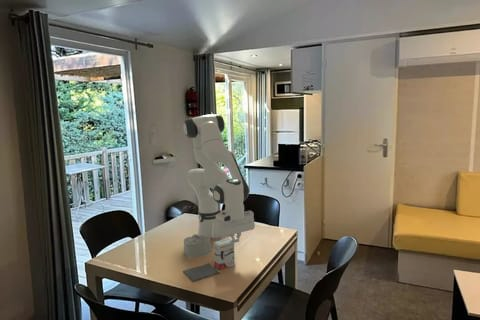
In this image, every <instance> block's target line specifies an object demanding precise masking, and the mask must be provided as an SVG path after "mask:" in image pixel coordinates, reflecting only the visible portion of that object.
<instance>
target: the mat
mask: <svg viewBox="0 0 480 320" xmlns="http://www.w3.org/2000/svg"><path fill="white" fill-rule="evenodd" d="M182 272H183V274H185V275H186V276H187V277H188V278H189V279H190V280H191V281H192V282H196V281H200V280H203V279H207V278H210V277H213V276H215V275H219V274H221V272H220V270H219V269H218V268H216V267H215V266H213V265H212V264H210V263H205V264H201V265H197V266H195V267H191V268H188V269H183V270H182Z"/></svg>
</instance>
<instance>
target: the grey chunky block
mask: <svg viewBox="0 0 480 320" xmlns="http://www.w3.org/2000/svg"><path fill="white" fill-rule="evenodd" d="M183 246H184V247H183V248H184V255H185V256H186V258H188V259H193V258H201V257H205V256H207V255H209V254H210V253H211V252H212V251H211V238H209V237H206V236H204V235H200V236H198V235H197V233H196V234H193V235H191V236H188V237H186V238H184V240H183Z"/></svg>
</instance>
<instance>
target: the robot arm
mask: <svg viewBox="0 0 480 320" xmlns="http://www.w3.org/2000/svg"><path fill="white" fill-rule="evenodd" d="M182 127H183V133H184V134H185V136H186V137H187V138H191V139H192V147H193V153H194V154H193V155H194V156H193V157H194V160H195V162H196V163H198V164H199V165H200V166H201V167H202V168H192V169H190V170H189V171H188V172H187V175H186V182H187V184H188V185H189V186H190V187H191V188H192V189H193V190H194V192H195V195H196V197H197V201H198V213H197V216H198V217H197V218H198V229H197V233H196V234H197V235H198V236H200V235H204V236H206V237H209V238H210V239H213V240H215V239H221V238H225V237H228V236H229V237H230V239H231V240H232V241H234V244H236V243H239V242H240V238H241V236H242V233H244V232H248V231H253V230H254V229H255V228H256V227H255V225H256V223H255V218H254V216H255V215H254V214H255V213H254V212H253V210H246V211H245V205H244V202H245V201H246V200H247V199H248V197H249V195H250V187H249V185H248V183H247V181H246V180H245V178H244V175H243V173H242V171H241V169H240V166H239V163H238V161H237V159H236V157H235V155H234V153H233V152H232V151H231V150H229V149H228V148H227V146H226V144H225V142H224V138H223V136H222V132H224V130H225V127H226V126H225V119H224V118H223V116H222V115H221V114H218V113H217V114H215V113H214V114H205V115H204V114H203V115H200V116H195V117H189V118H187V119H185V120H184V122H183V126H182ZM218 163H220V164H222V165H224V166H225V167H226V168H227V169H228V172H229V175H230V176H231V178H229V176H228V174H227V171H225V170H224V169H222V168H221V166H220V165H219V164H218ZM211 189H213V190H212V191H211ZM218 204H221V205H225V207H224V209H223V210H220V209H219V206H218ZM235 235H236V237H235Z"/></svg>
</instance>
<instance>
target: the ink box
mask: <svg viewBox="0 0 480 320" xmlns="http://www.w3.org/2000/svg"><path fill="white" fill-rule="evenodd" d="M213 253H214V254H213V259H214V261H213V262H214V268H215V269H217V270H218V271H220V270H224V269H227V268H230V267H232V266H233V267H234V266H235V265H236V264H235V259H236V258H235V243H234V241H232V238H224V239H219V240H217V241H214V242H213Z"/></svg>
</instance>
